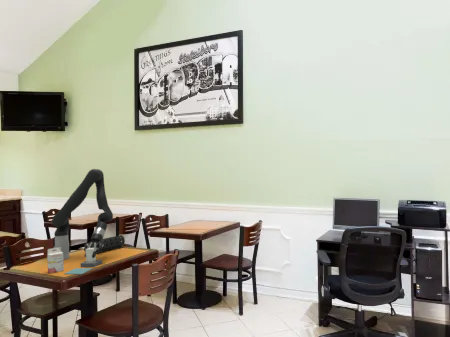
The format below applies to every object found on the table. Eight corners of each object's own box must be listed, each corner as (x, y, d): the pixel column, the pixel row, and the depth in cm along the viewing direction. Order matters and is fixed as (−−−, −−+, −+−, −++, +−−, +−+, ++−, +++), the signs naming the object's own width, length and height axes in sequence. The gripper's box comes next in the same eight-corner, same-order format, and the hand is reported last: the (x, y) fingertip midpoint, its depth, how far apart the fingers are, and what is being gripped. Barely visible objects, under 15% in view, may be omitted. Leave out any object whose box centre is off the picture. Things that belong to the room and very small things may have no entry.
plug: (86, 264, 245) (85, 249, 245) (89, 262, 250) (89, 247, 250) (92, 264, 244) (91, 249, 244) (95, 262, 249) (95, 247, 249)
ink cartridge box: (49, 273, 230) (48, 250, 230) (47, 272, 234) (46, 249, 234) (64, 270, 236) (63, 247, 236) (61, 269, 240) (60, 246, 240)
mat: (64, 274, 227) (64, 273, 227) (75, 268, 239) (75, 268, 239) (81, 274, 225) (81, 273, 225) (92, 268, 237) (92, 268, 237)
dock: (80, 267, 243) (80, 263, 243) (88, 263, 253) (88, 259, 253) (94, 267, 241) (94, 263, 241) (102, 263, 251) (101, 259, 251)
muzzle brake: (125, 247, 301) (124, 235, 301) (95, 255, 278) (95, 241, 278) (118, 246, 306) (117, 234, 306) (88, 253, 284) (87, 240, 284)
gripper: (86, 232, 256) (77, 254, 244) (105, 232, 253) (96, 254, 241) (90, 238, 261) (81, 260, 249) (109, 238, 258) (101, 260, 246)
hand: (89, 257), depth 245 cm, fingers closed on plug, 4 cm apart
